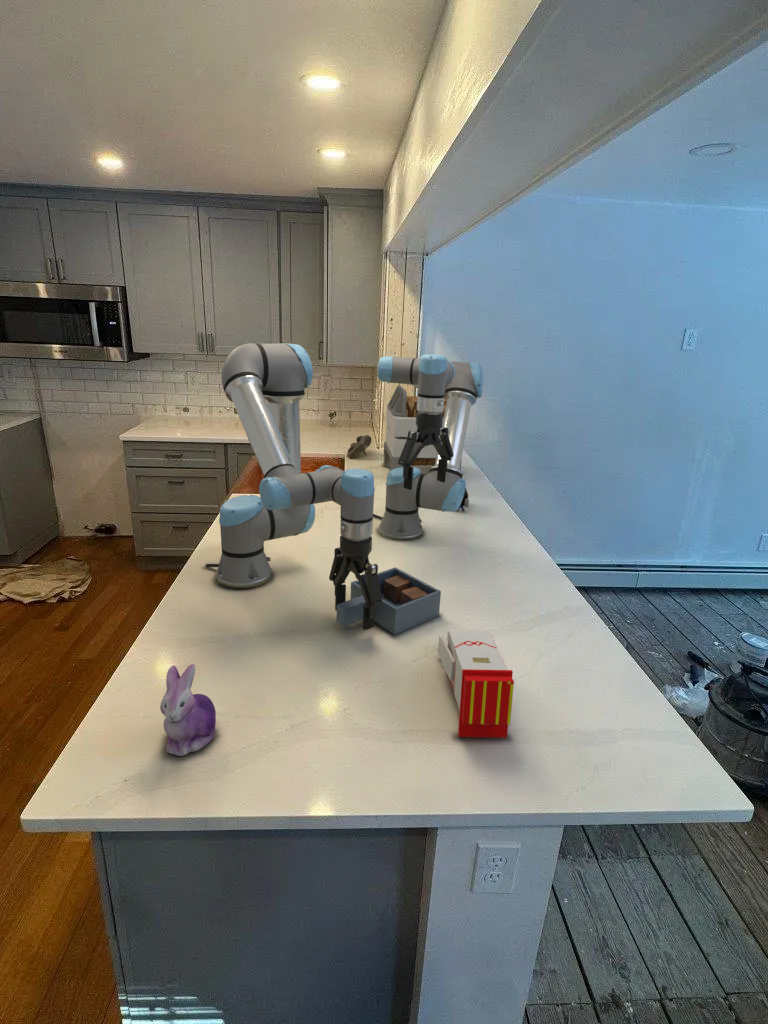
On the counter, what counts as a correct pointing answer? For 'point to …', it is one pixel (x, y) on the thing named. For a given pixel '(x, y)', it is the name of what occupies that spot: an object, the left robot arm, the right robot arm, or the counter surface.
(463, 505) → the figurine character
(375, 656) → the counter surface
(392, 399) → the white crate
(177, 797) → the counter surface
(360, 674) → the counter surface
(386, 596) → the walnut block
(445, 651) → the toy
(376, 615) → the tray
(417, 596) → the walnut block
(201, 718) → the figurine
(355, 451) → the fossil
